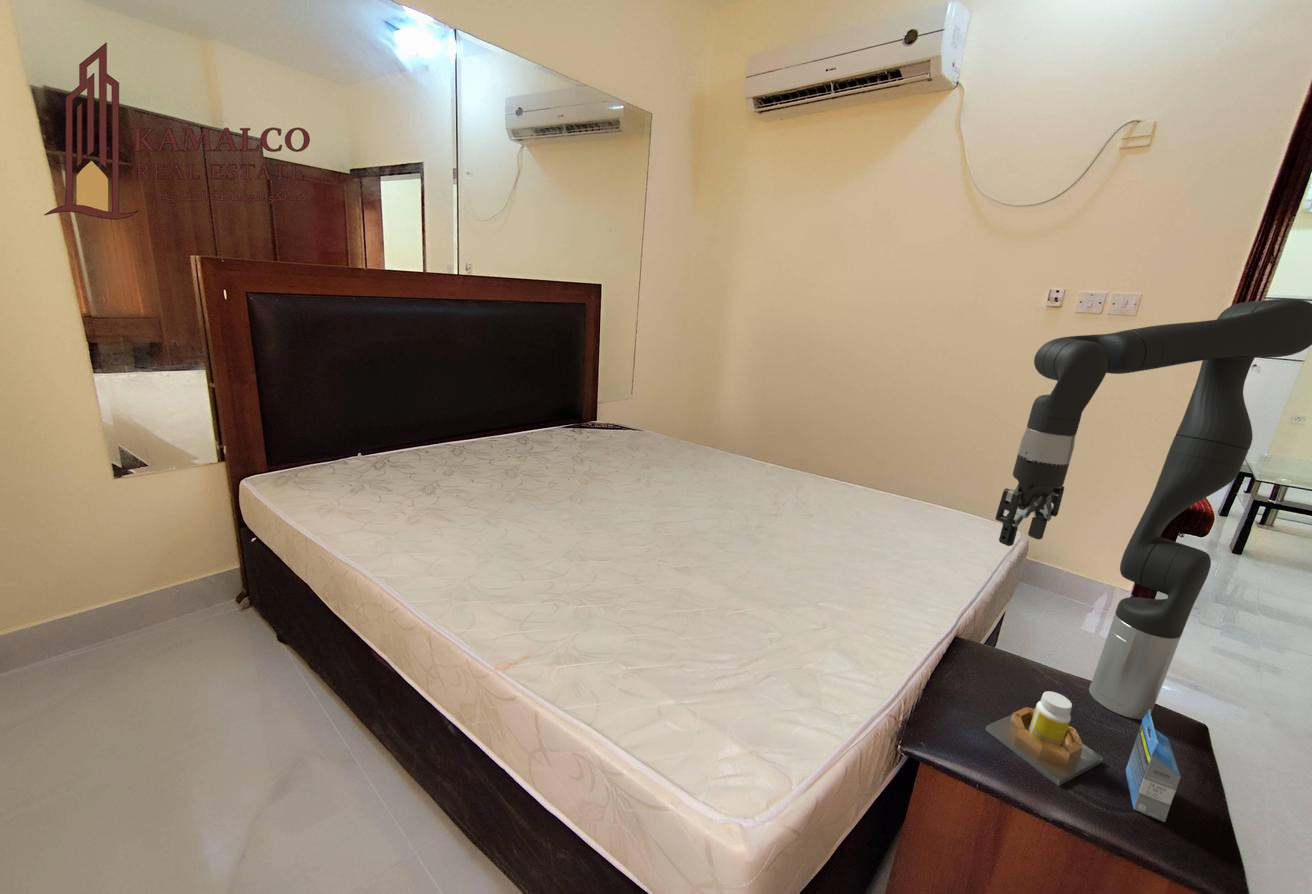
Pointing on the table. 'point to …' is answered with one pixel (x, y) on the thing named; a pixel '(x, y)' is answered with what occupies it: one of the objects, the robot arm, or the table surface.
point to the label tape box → (1152, 772)
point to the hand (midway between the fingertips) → (1020, 540)
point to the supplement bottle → (1051, 718)
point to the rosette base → (1042, 764)
